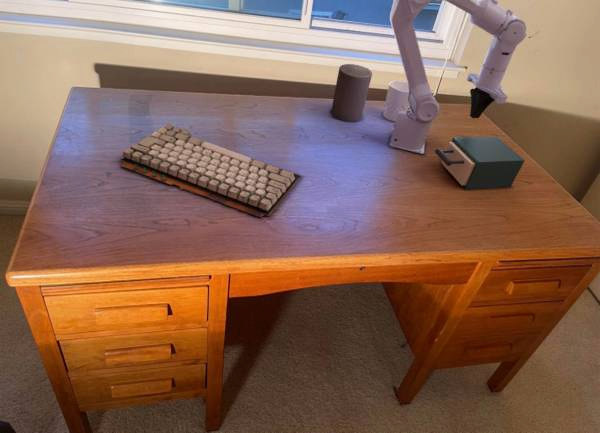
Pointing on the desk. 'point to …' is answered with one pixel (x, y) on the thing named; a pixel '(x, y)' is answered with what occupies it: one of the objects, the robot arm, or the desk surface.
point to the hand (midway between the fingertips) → (474, 117)
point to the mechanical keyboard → (210, 171)
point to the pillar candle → (351, 92)
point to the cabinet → (490, 162)
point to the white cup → (396, 99)
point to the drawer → (456, 162)
